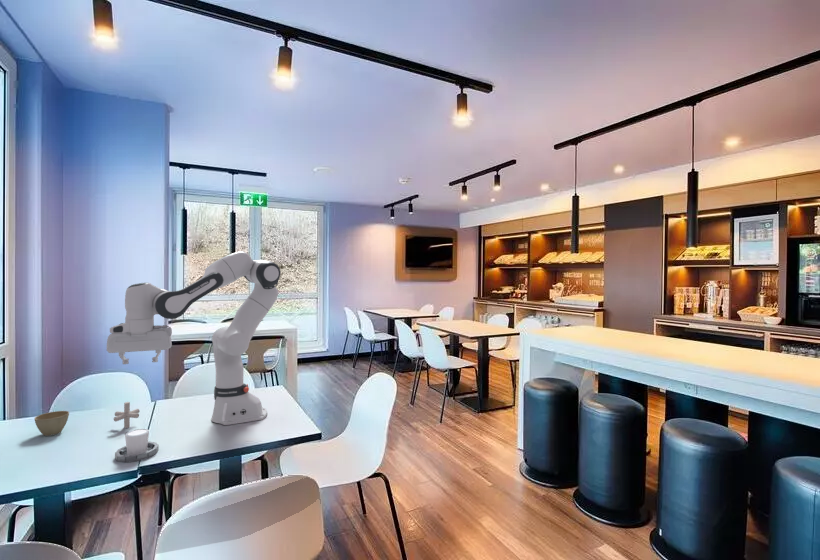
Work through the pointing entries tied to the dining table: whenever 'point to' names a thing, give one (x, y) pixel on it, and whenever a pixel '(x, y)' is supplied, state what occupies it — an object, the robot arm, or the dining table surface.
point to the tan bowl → (51, 422)
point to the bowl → (123, 457)
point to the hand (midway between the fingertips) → (140, 363)
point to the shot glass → (137, 441)
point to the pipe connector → (126, 415)
